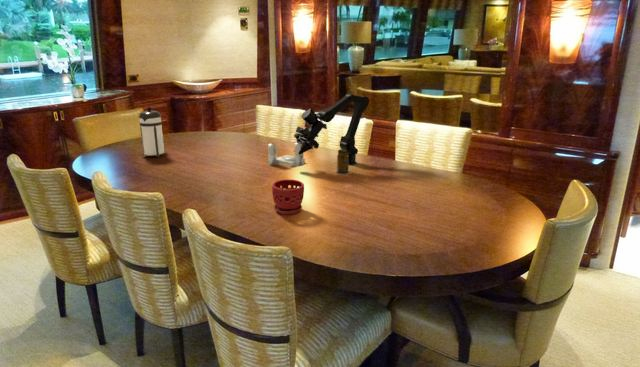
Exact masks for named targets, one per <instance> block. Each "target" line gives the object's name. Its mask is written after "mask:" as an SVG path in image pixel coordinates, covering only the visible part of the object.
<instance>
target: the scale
mask: <svg viewBox="0 0 640 367" xmlns="http://www.w3.org/2000/svg"><path fill="white" fill-rule="evenodd" d="M305 162H306V159H305V158H304V163H305ZM277 165H280V166H285V167H289V168H292V167H295V166H296V165H295V155H290V154H285V155H282V156H277ZM296 167H297V166H296Z"/></svg>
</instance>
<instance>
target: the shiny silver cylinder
mask: <svg viewBox="0 0 640 367" xmlns="http://www.w3.org/2000/svg"><path fill="white" fill-rule="evenodd" d="M293 145H294V147H293V148H294V149H293V153H294V155H293V156H295V165H296V167H303V166H304V165H305V164H304V159H305V158H304V155H305V154H304V153H302V154H300V155H299V154H298V153H299V151H300V149H301V148H302V146H303V142H297V141H294V144H293Z"/></svg>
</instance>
